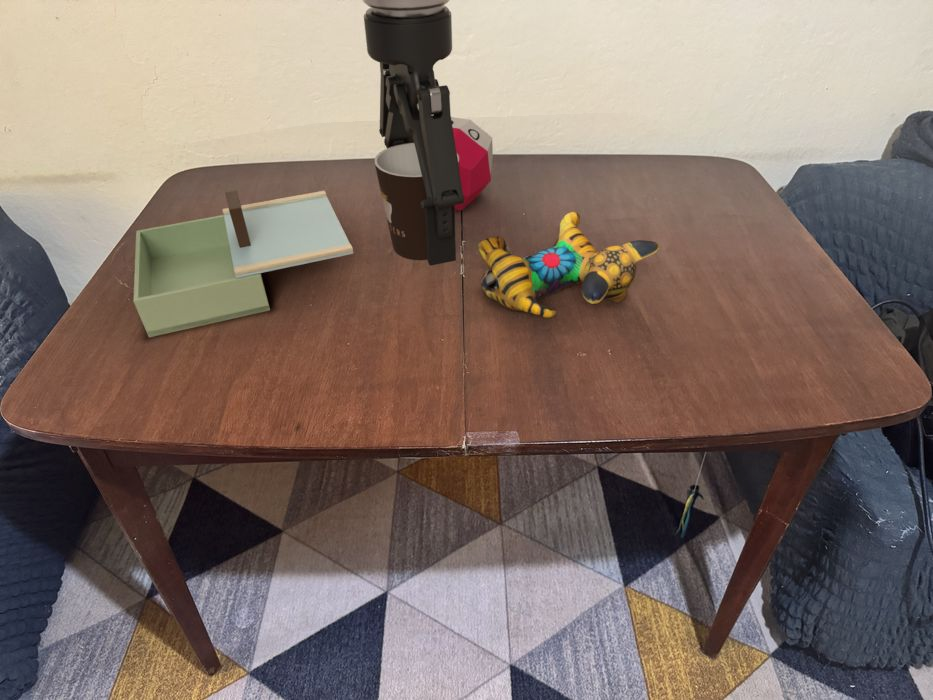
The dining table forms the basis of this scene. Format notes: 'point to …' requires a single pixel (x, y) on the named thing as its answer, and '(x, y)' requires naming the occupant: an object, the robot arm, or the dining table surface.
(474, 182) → the decorative object
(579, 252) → the dog figurine
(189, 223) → the green open storage box
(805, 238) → the dining table surface
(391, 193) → the coffee mug
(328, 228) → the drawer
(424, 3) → the robot arm
